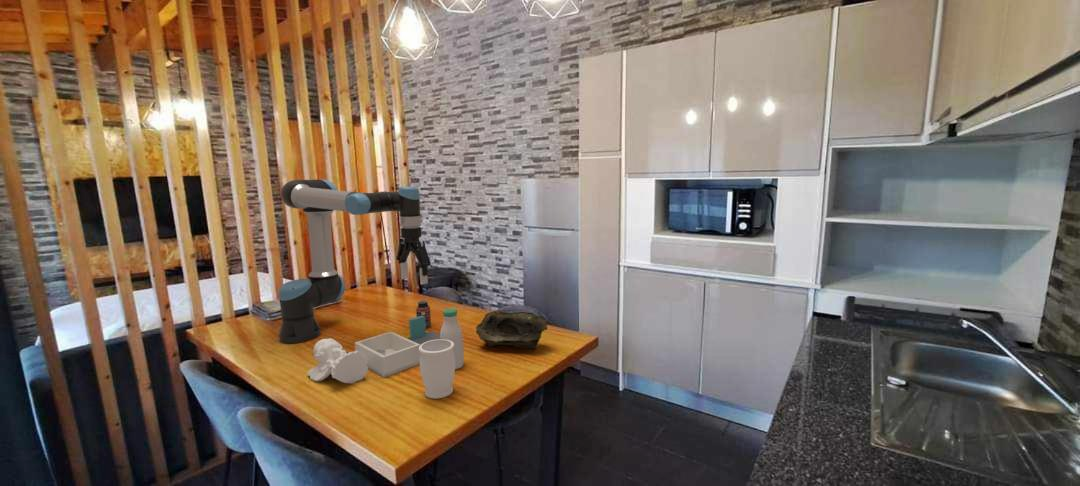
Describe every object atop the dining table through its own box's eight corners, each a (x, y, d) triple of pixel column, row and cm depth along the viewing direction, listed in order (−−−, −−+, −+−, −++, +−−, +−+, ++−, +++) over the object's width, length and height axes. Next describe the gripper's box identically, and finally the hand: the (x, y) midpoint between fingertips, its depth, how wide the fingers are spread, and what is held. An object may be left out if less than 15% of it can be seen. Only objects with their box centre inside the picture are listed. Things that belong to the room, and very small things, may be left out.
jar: (425, 384, 135) (422, 339, 132) (458, 383, 136) (456, 337, 133) (418, 402, 124) (415, 353, 122) (454, 400, 125) (452, 351, 123)
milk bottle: (468, 362, 150) (465, 307, 147) (456, 372, 143) (454, 314, 140) (448, 359, 153) (446, 306, 150) (437, 369, 146) (433, 312, 143)
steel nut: (369, 359, 152) (368, 353, 151) (377, 355, 155) (376, 349, 155) (377, 361, 150) (377, 355, 150) (385, 357, 154) (385, 350, 154)
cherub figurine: (326, 362, 128) (299, 340, 141) (329, 398, 131) (302, 373, 144) (368, 347, 138) (338, 327, 150) (370, 381, 141) (341, 359, 153)
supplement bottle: (427, 329, 184) (425, 304, 182) (414, 328, 185) (413, 303, 184) (433, 324, 190) (432, 300, 188) (421, 324, 191) (419, 299, 189)
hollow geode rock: (548, 362, 161) (557, 325, 169) (540, 349, 151) (550, 311, 159) (482, 350, 171) (493, 316, 178) (470, 337, 161) (483, 302, 168)
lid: (398, 346, 167) (397, 321, 165) (431, 335, 178) (430, 312, 176) (429, 361, 153) (428, 334, 152) (463, 348, 164) (461, 323, 163)
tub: (356, 361, 153) (354, 342, 152) (392, 349, 164) (390, 331, 162) (384, 377, 140) (382, 357, 139) (421, 363, 150) (420, 344, 149)
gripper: (385, 225, 169) (388, 278, 172) (420, 230, 153) (424, 288, 156) (402, 224, 175) (405, 274, 178) (438, 228, 158) (441, 284, 161)
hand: (414, 281), depth 167 cm, fingers open, 13 cm apart
